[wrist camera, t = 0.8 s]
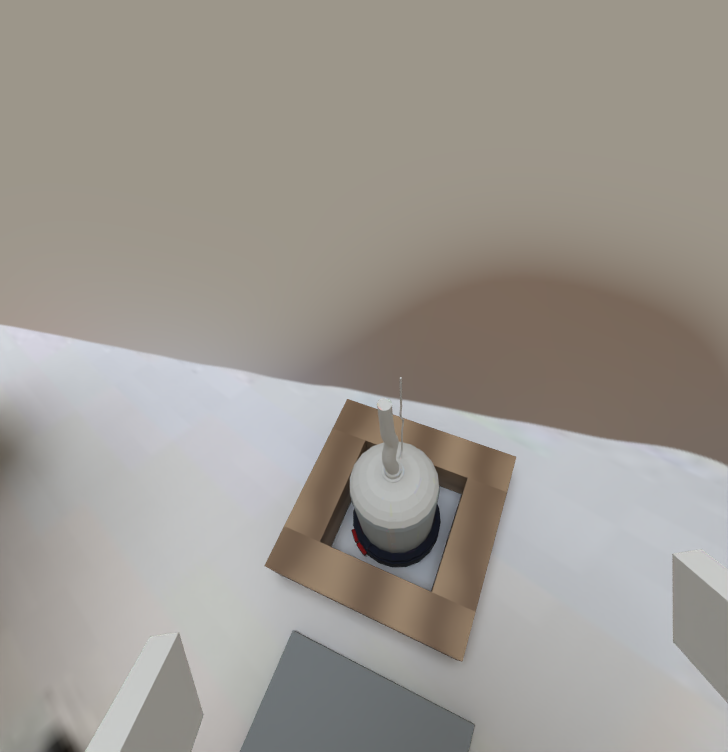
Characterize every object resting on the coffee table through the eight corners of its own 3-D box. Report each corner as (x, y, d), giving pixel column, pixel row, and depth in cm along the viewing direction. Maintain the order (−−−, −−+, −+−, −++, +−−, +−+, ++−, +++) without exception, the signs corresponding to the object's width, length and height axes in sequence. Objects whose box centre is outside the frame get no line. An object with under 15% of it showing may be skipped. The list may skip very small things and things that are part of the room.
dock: (279, 574, 41) (264, 565, 37) (352, 420, 49) (347, 399, 44) (455, 659, 36) (462, 661, 32) (505, 474, 44) (516, 456, 40)
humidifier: (340, 544, 42) (272, 441, 21) (376, 468, 45) (351, 315, 24) (419, 584, 39) (435, 515, 18) (451, 501, 43) (495, 363, 22)
